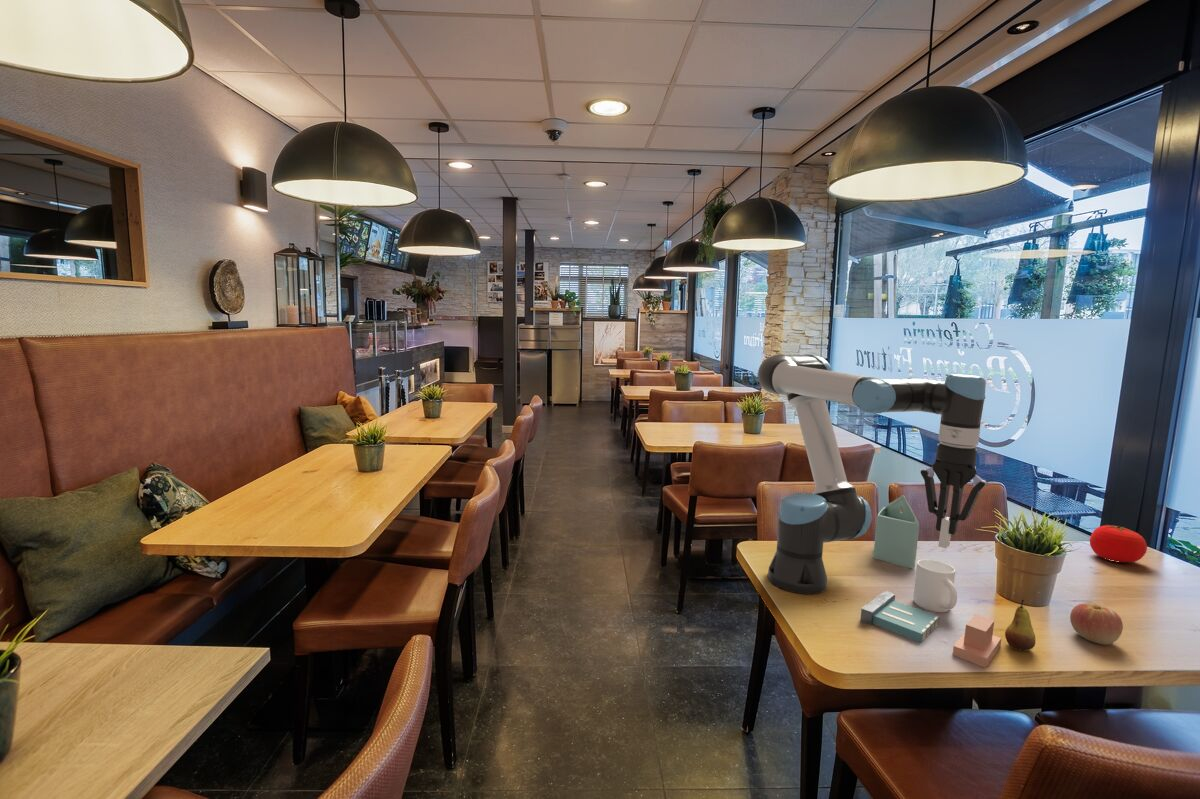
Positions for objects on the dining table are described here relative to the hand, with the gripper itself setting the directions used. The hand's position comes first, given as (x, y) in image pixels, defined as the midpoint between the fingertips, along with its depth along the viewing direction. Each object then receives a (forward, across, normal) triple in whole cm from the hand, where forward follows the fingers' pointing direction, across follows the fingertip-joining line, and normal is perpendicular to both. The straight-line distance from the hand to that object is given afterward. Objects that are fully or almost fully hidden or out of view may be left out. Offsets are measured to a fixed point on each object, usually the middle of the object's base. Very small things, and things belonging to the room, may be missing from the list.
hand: (943, 545), depth 128 cm
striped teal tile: (+20, -6, -4) cm, 21 cm away
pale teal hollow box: (+21, -24, +35) cm, 47 cm away
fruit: (+20, +15, +5) cm, 26 cm away
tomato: (+20, +23, +92) cm, 97 cm away
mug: (+20, -2, +11) cm, 23 cm away
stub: (+20, +10, -4) cm, 22 cm away
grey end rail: (+20, -11, -4) cm, 23 cm away
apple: (+20, +26, +23) cm, 40 cm away
